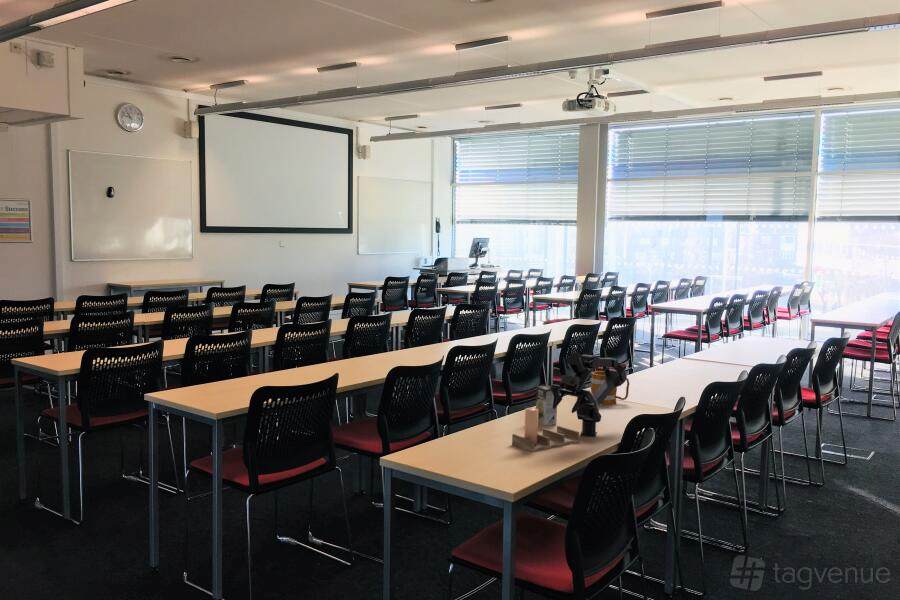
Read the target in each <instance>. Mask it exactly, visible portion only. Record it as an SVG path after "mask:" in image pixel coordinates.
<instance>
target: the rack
mask: <svg viewBox="0 0 900 600" xmlns="http://www.w3.org/2000/svg"><path fill="white" fill-rule="evenodd" d="M511 438H512V439H511V444H512V445H513V446H515V447H518V448H521V449H523V450H527V451H529V452H531V451H532V452H533V451H534V452H538V451H543V450H547V448H548V449H553V448H557V447H556V446H558V447H562V446H566V445H565V444H567V445H571V444H570V443H572V444H575V443H574V442H577V443H579V442H580V431H577V430H574V429H571V428H568V427H563V426H560V425H557V426H556V431H554V430H551V429H549V428H548V429H547V428H545V427H543V428H542V433H541V434H539V433H538V439H537V445H535V446H534V441H533V440H531V439H528V438H525V437H524V436H522V435H519V434H516V433H513V434H512V437H511ZM561 445H562V446H561ZM552 447H553V448H552Z"/></svg>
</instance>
